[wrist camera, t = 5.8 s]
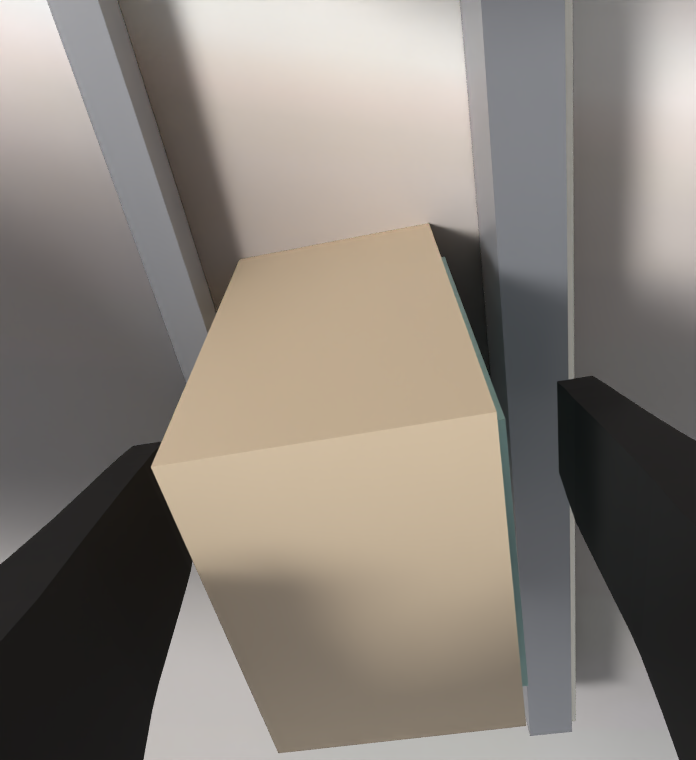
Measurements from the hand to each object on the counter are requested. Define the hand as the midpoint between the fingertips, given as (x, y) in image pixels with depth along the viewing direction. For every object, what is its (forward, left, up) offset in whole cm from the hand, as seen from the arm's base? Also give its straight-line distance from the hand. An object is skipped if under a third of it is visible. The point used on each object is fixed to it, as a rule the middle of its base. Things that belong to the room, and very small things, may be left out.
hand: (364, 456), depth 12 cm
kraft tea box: (0, 0, -3) cm, 4 cm away
